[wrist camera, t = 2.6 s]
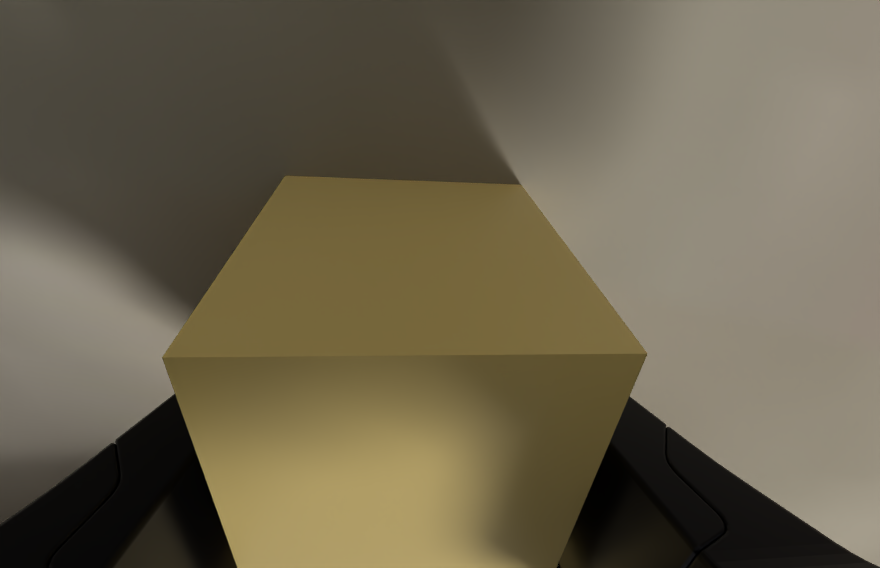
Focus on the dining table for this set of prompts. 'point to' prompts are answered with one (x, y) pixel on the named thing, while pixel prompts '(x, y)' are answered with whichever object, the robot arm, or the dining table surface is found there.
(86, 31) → the dining table surface
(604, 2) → the dining table surface
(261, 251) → the mustard block
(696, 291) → the dining table surface
